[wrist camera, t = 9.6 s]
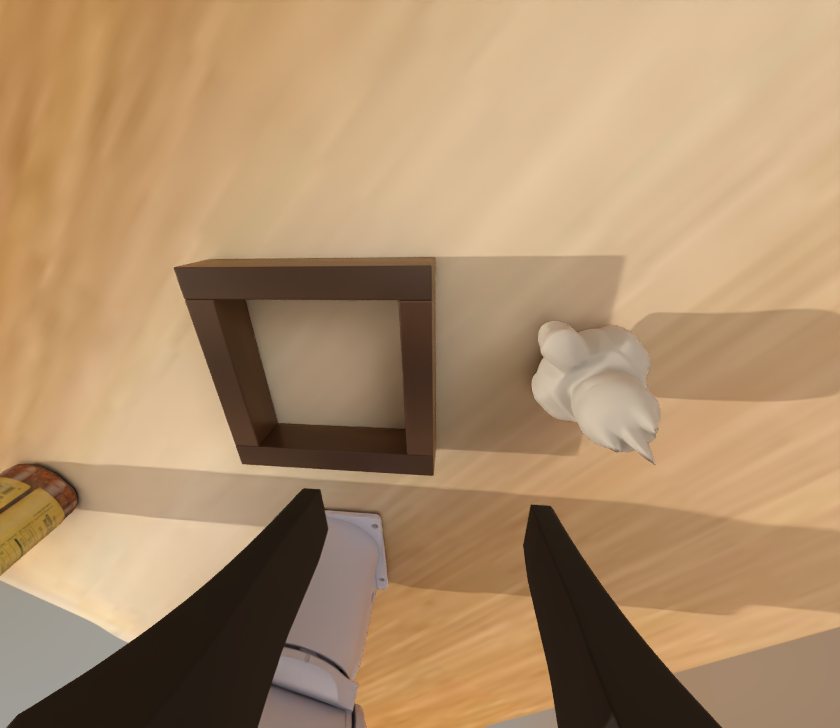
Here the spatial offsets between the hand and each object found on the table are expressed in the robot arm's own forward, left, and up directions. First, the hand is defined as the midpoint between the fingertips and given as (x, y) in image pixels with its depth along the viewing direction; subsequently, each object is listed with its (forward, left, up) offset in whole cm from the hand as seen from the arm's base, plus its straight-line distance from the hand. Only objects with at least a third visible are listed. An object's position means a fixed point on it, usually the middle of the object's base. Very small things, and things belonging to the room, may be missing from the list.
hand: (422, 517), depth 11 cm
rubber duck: (+2, -7, -10) cm, 13 cm away
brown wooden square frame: (+1, +6, -10) cm, 12 cm away
